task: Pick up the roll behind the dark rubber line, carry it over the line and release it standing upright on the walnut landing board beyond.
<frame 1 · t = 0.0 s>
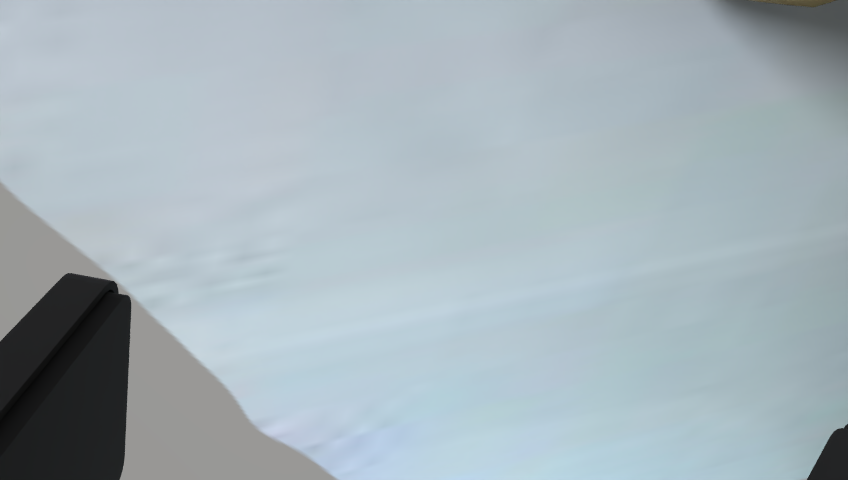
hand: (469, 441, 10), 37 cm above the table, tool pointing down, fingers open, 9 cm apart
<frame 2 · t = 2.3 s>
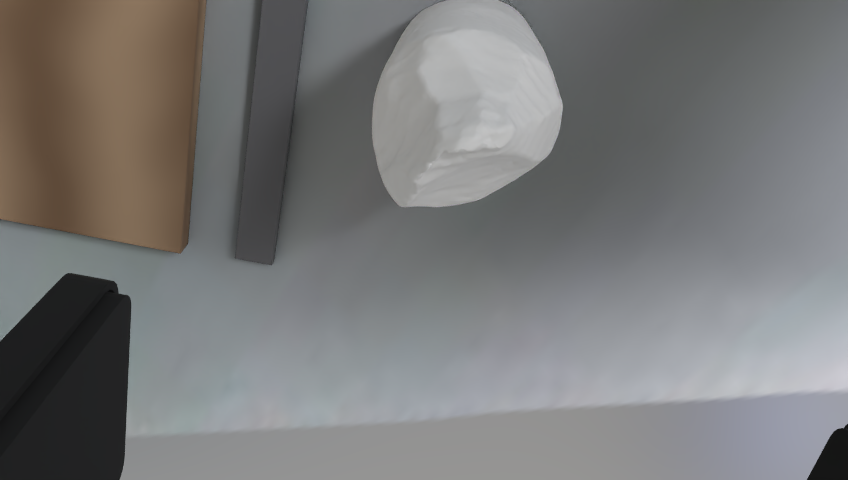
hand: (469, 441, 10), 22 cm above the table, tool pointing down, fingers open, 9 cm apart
throw line: (283, 28, 30), on the table
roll: (461, 64, 30), on the table
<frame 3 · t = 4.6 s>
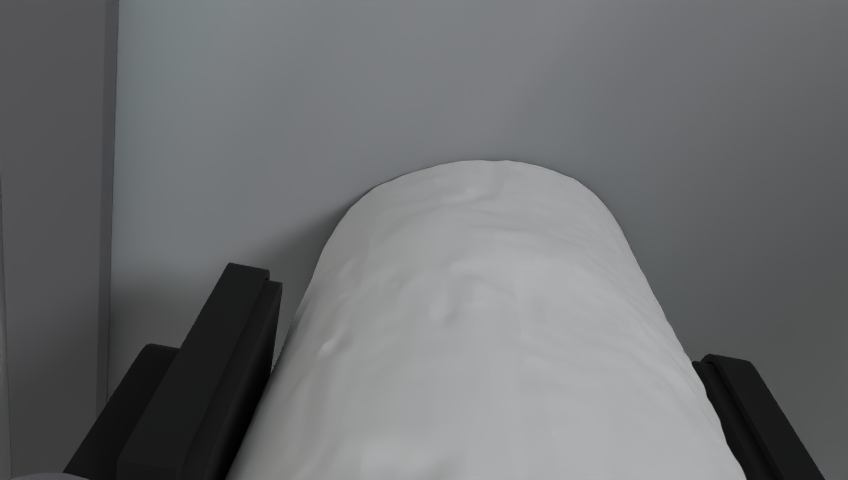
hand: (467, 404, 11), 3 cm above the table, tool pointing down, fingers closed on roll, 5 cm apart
throw line: (64, 221, 13), on the table
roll: (463, 292, 14), on the table, touching gripper
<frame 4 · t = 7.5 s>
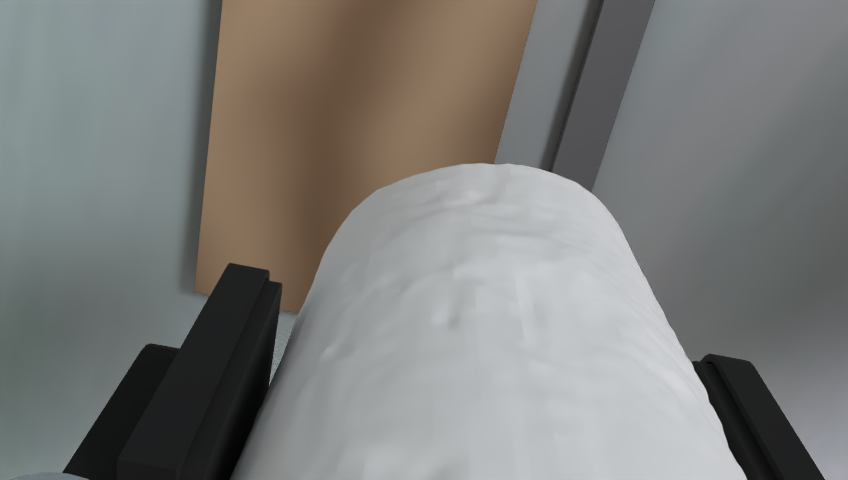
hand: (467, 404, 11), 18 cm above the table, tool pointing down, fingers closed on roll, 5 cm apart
throw line: (590, 112, 27), on the table
landing board: (369, 62, 27), on the table
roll: (464, 295, 14), point 15 cm above the table, touching gripper
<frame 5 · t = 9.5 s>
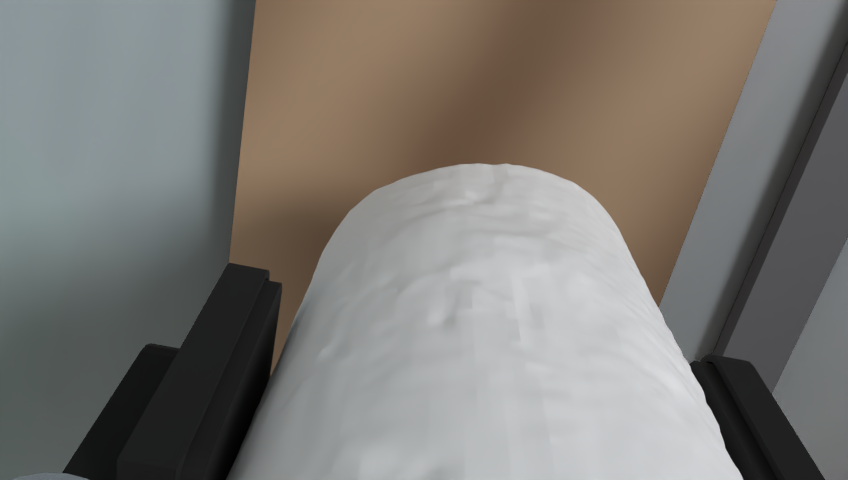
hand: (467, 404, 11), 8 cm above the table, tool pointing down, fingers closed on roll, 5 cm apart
throw line: (787, 260, 18), on the table
landing board: (461, 194, 18), on the table
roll: (462, 295, 14), point 5 cm above the table, touching gripper
when the fingers open (6 cm above the table, at t = 10.8 s): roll drops 2 cm, resting on landing board.
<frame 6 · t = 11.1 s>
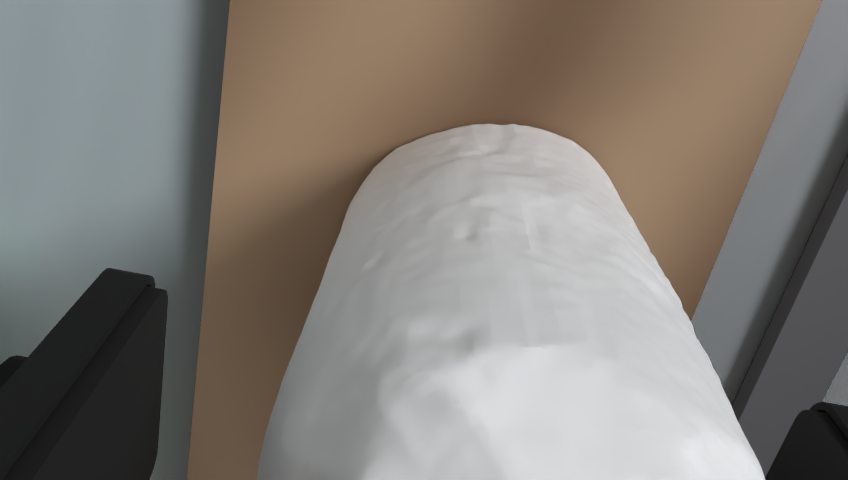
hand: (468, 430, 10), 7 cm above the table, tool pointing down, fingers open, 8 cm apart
throw line: (819, 299, 17), on the table
landing board: (460, 229, 16), on the table
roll: (473, 244, 16), point 1 cm above the table, touching landing board
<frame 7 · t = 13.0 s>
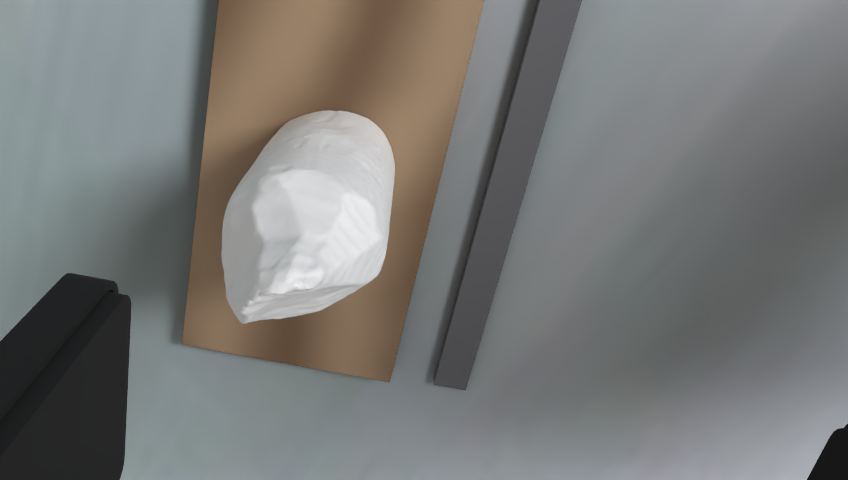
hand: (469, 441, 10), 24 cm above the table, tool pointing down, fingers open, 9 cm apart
throw line: (501, 199, 34), on the table
landing board: (324, 162, 34), on the table
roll: (327, 168, 33), point 1 cm above the table, touching landing board
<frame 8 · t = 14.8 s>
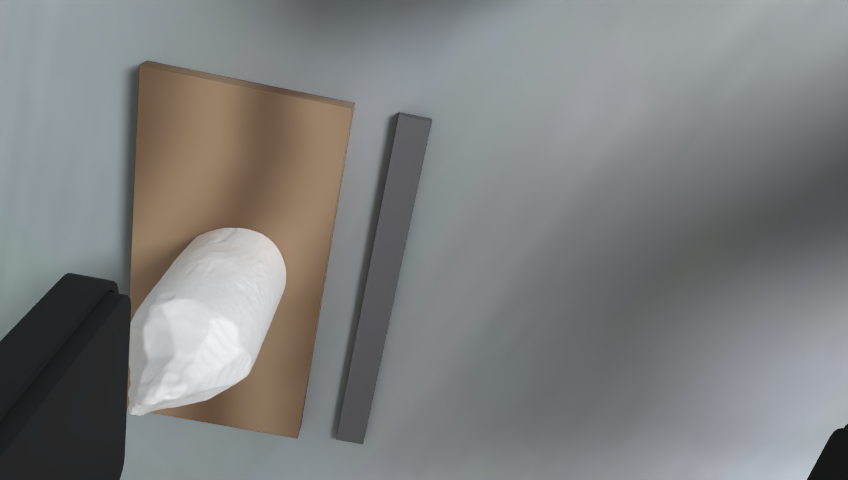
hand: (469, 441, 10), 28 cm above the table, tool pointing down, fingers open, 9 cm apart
throw line: (379, 292, 42), on the table
landing board: (232, 264, 41), on the table
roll: (233, 270, 40), point 1 cm above the table, touching landing board
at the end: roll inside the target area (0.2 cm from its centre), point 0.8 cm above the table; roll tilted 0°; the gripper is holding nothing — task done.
